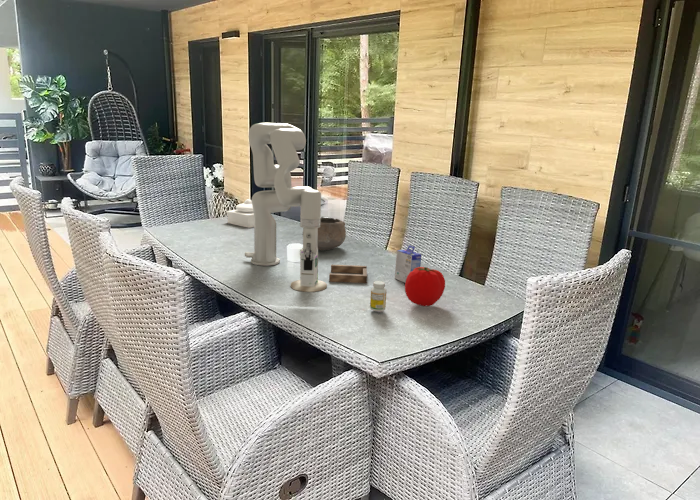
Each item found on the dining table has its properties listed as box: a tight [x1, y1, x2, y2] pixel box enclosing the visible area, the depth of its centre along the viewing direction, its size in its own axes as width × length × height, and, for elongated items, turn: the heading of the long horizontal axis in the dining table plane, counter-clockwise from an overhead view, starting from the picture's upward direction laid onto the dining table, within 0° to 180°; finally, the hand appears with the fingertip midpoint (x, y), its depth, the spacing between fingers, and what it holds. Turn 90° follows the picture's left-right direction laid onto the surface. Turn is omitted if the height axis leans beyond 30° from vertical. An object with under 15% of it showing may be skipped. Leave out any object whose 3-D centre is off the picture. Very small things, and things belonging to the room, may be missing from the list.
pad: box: [290, 279, 328, 293], centre depth 205 cm, size 14×14×1 cm
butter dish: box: [226, 198, 254, 229], centre depth 308 cm, size 18×18×16 cm
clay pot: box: [318, 217, 347, 251], centre depth 260 cm, size 21×21×15 cm
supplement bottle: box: [369, 280, 387, 312], centre depth 183 cm, size 5×5×10 cm
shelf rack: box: [328, 264, 368, 284], centre depth 219 cm, size 15×14×3 cm
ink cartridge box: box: [394, 244, 422, 284], centre depth 215 cm, size 10×6×14 cm, turn 34°
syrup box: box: [299, 247, 319, 287], centre depth 204 cm, size 6×6×14 cm
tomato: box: [404, 266, 446, 307], centre depth 190 cm, size 16×14×14 cm
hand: (309, 266), depth 204 cm, fingers open, 9 cm apart
